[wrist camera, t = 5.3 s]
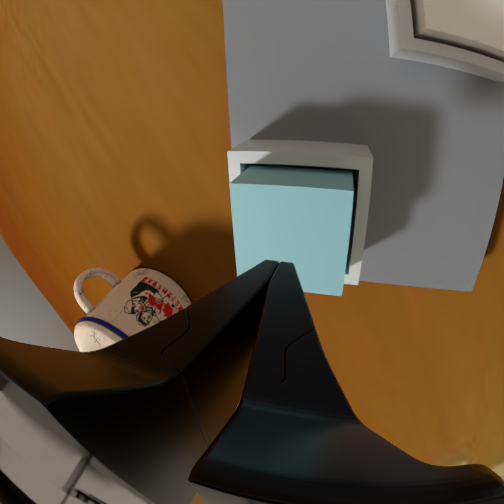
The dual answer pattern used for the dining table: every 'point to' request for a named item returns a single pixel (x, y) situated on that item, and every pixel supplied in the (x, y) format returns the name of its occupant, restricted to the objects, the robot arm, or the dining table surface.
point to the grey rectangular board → (373, 128)
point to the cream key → (461, 24)
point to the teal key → (294, 222)
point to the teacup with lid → (125, 306)
